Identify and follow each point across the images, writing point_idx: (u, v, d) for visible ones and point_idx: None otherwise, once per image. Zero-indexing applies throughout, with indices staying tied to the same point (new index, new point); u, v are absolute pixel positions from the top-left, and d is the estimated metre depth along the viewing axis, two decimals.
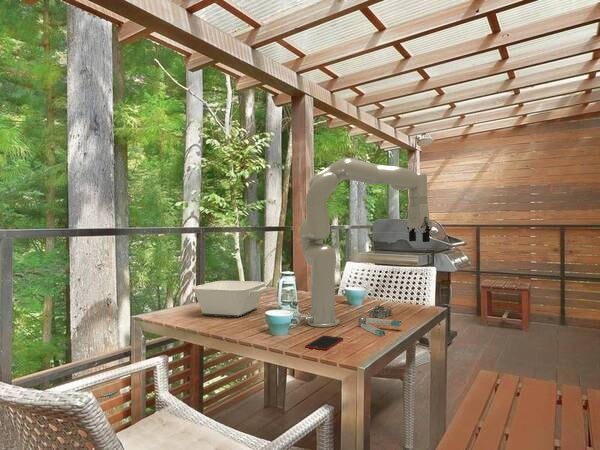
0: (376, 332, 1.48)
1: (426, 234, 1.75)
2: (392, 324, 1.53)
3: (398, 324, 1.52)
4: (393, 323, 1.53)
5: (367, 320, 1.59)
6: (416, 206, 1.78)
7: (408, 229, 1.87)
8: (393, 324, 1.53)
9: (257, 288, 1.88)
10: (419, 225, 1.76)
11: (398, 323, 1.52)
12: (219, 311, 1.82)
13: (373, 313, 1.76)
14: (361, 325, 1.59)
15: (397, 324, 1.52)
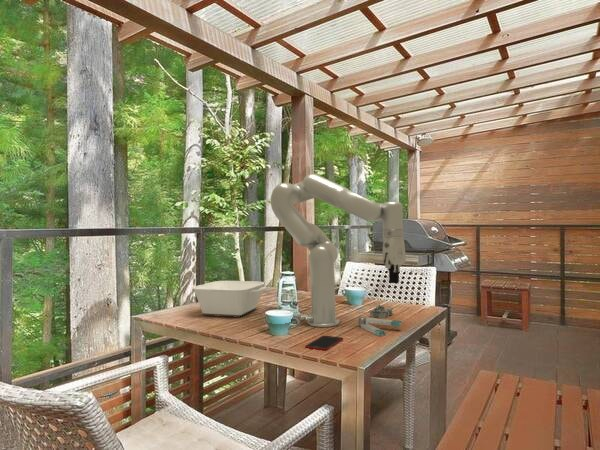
0: (376, 332, 1.48)
1: None
2: (392, 324, 1.53)
3: (398, 324, 1.52)
4: (393, 323, 1.53)
5: (367, 320, 1.59)
6: (402, 239, 1.60)
7: (392, 269, 1.57)
8: (393, 324, 1.53)
9: (257, 288, 1.89)
10: (405, 260, 1.61)
11: (398, 323, 1.52)
12: (220, 311, 1.81)
13: (374, 313, 1.76)
14: (361, 325, 1.59)
15: (397, 324, 1.52)
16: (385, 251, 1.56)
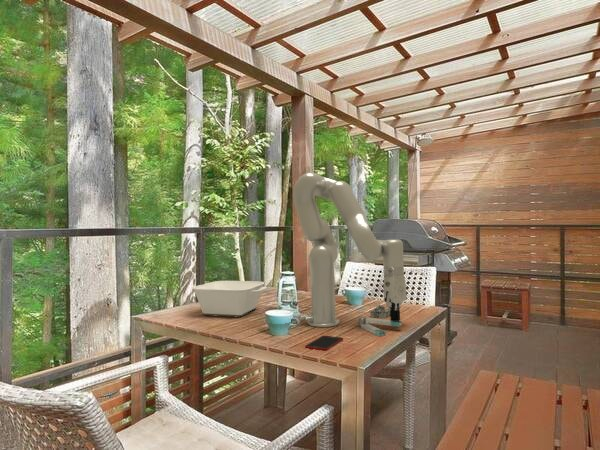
0: (376, 332, 1.48)
1: None
2: (392, 324, 1.53)
3: (398, 324, 1.52)
4: (393, 323, 1.53)
5: (367, 320, 1.59)
6: (402, 277, 1.60)
7: (393, 308, 1.57)
8: (393, 324, 1.53)
9: (257, 288, 1.89)
10: (406, 297, 1.61)
11: (398, 323, 1.52)
12: (220, 311, 1.81)
13: (374, 313, 1.76)
14: (361, 325, 1.59)
15: (397, 324, 1.52)
16: (386, 289, 1.56)
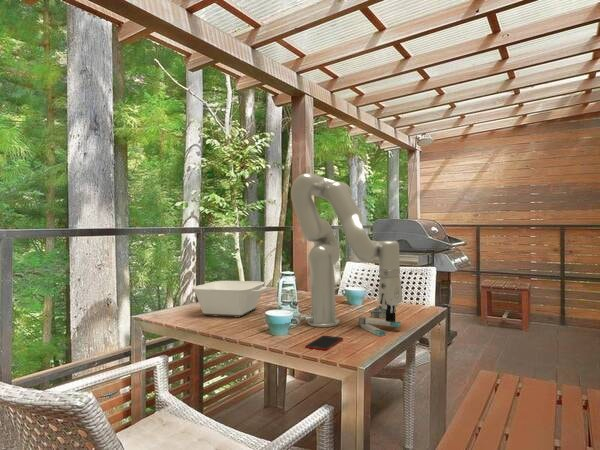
0: (376, 332, 1.48)
1: None
2: (391, 324, 1.53)
3: (397, 325, 1.51)
4: (392, 324, 1.52)
5: (367, 320, 1.59)
6: (398, 279, 1.57)
7: (389, 310, 1.55)
8: (392, 325, 1.52)
9: (257, 288, 1.89)
10: (401, 300, 1.59)
11: (397, 324, 1.51)
12: (220, 311, 1.81)
13: (374, 313, 1.76)
14: (361, 325, 1.59)
15: (396, 324, 1.52)
16: (382, 291, 1.54)
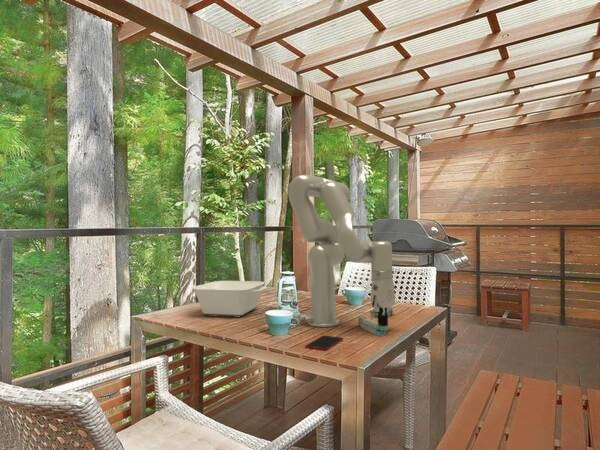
0: (376, 332, 1.48)
1: None
2: (377, 327, 1.49)
3: (380, 328, 1.47)
4: (377, 326, 1.49)
5: (363, 320, 1.58)
6: (391, 280, 1.53)
7: (381, 312, 1.51)
8: (377, 327, 1.49)
9: (258, 288, 1.89)
10: (394, 302, 1.54)
11: (380, 327, 1.47)
12: (220, 311, 1.81)
13: (374, 313, 1.76)
14: (361, 325, 1.59)
15: (380, 328, 1.47)
16: (374, 293, 1.49)
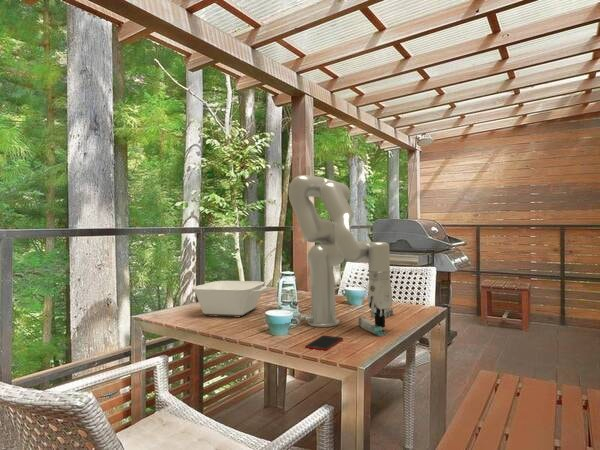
0: (376, 332, 1.48)
1: None
2: (371, 328, 1.49)
3: (374, 328, 1.46)
4: (372, 327, 1.48)
5: (362, 320, 1.58)
6: (388, 281, 1.52)
7: (378, 313, 1.50)
8: (372, 328, 1.48)
9: (258, 288, 1.90)
10: (391, 303, 1.53)
11: (374, 327, 1.46)
12: (221, 311, 1.81)
13: None
14: (361, 325, 1.59)
15: (374, 328, 1.47)
16: (371, 294, 1.48)
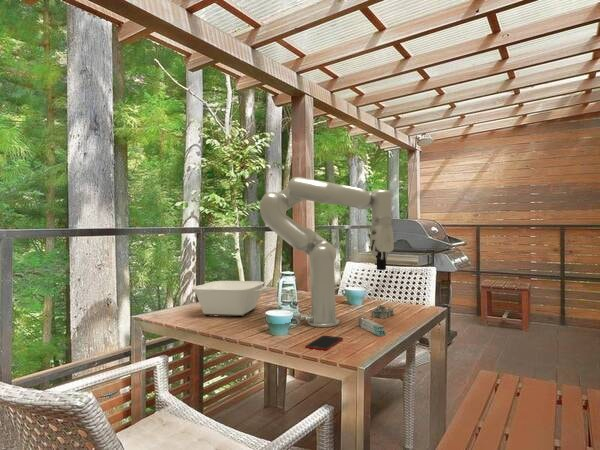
0: (376, 332, 1.48)
1: None
2: (373, 328, 1.49)
3: (377, 328, 1.47)
4: (374, 327, 1.48)
5: (362, 320, 1.58)
6: (390, 227, 1.62)
7: (379, 256, 1.60)
8: (374, 328, 1.48)
9: (258, 288, 1.90)
10: (393, 248, 1.63)
11: (377, 327, 1.47)
12: (221, 311, 1.81)
13: (375, 313, 1.76)
14: (361, 325, 1.59)
15: (376, 328, 1.47)
16: (372, 238, 1.59)
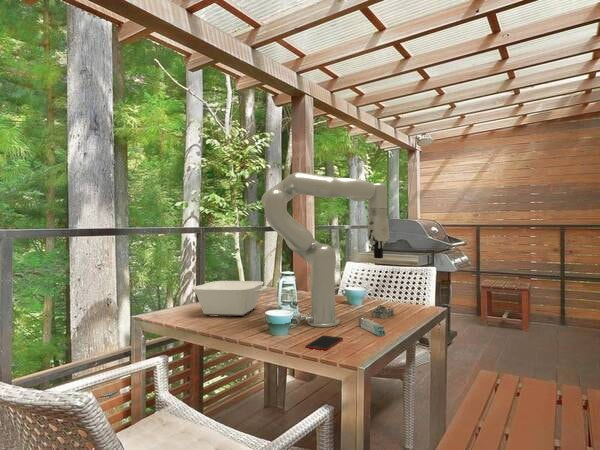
0: (376, 332, 1.48)
1: None
2: (373, 328, 1.49)
3: (377, 328, 1.47)
4: (374, 327, 1.48)
5: (362, 320, 1.58)
6: (386, 218, 1.72)
7: (377, 245, 1.70)
8: (374, 328, 1.48)
9: (258, 287, 1.90)
10: None
11: (377, 327, 1.47)
12: (222, 311, 1.81)
13: (376, 313, 1.76)
14: (361, 325, 1.59)
15: (376, 328, 1.47)
16: (370, 228, 1.69)
